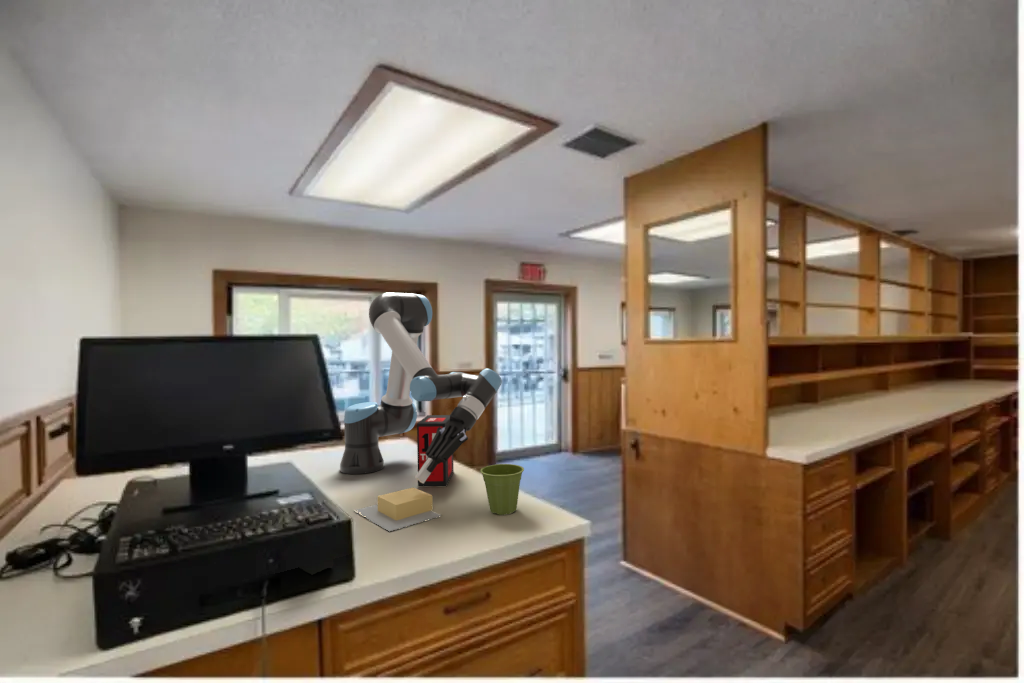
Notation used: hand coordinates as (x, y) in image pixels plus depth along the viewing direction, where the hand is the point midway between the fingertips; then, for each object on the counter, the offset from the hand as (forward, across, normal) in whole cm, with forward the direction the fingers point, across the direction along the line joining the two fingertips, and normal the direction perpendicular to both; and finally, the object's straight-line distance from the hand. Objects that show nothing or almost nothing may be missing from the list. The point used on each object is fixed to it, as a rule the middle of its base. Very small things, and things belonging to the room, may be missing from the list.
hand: (419, 480), depth 137 cm
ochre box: (+3, 0, +4) cm, 5 cm away
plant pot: (-5, +18, +16) cm, 25 cm away
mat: (+10, 0, 0) cm, 10 cm away
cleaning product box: (-8, -20, +19) cm, 29 cm away
